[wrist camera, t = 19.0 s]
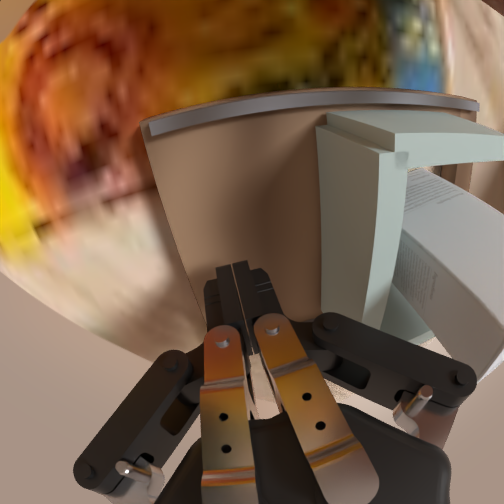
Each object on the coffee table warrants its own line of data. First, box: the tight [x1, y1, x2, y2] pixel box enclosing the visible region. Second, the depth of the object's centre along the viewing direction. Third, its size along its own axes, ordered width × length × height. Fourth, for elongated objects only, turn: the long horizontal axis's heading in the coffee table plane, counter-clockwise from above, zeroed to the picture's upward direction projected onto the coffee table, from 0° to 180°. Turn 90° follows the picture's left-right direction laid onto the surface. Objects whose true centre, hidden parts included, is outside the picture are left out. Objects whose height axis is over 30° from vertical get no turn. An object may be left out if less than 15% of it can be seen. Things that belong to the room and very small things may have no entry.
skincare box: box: [392, 168, 504, 383], centre depth 11 cm, size 6×4×12 cm
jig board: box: [139, 87, 479, 347], centre depth 15 cm, size 20×15×2 cm
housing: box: [315, 110, 504, 345], centre depth 13 cm, size 9×13×5 cm
